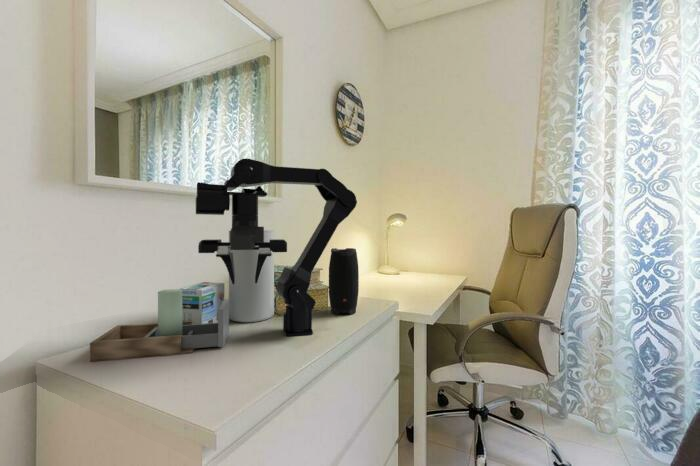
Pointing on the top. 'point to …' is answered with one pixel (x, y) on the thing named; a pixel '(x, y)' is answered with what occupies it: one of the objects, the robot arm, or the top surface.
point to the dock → (135, 343)
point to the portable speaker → (343, 280)
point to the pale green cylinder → (170, 312)
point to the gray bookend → (204, 331)
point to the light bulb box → (202, 302)
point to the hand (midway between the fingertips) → (245, 283)
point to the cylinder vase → (251, 286)
